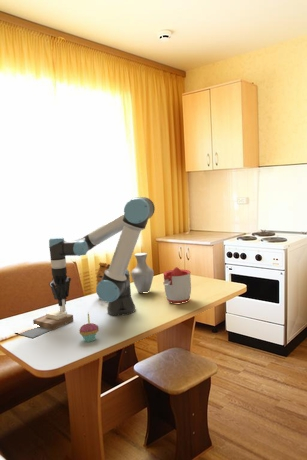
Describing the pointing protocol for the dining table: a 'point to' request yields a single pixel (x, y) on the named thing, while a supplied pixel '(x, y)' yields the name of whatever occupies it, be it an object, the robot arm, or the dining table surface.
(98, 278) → the coffee package
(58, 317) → the tile
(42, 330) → the mat
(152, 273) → the vase
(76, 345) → the dining table surface
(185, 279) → the citrus juicer
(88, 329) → the cupcake
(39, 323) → the board
